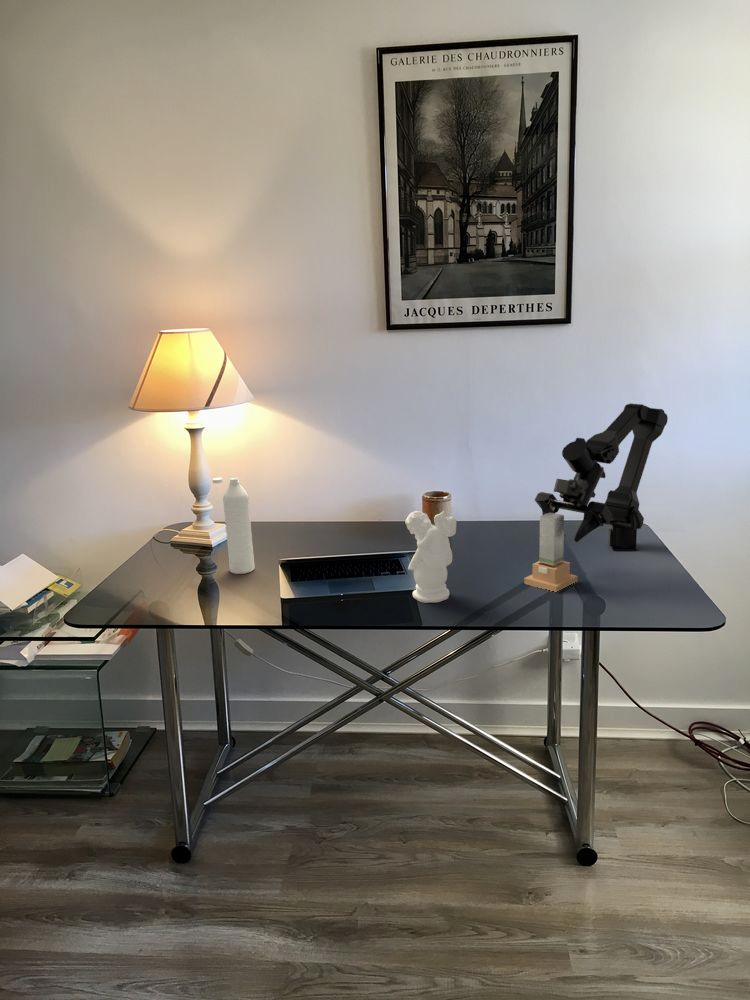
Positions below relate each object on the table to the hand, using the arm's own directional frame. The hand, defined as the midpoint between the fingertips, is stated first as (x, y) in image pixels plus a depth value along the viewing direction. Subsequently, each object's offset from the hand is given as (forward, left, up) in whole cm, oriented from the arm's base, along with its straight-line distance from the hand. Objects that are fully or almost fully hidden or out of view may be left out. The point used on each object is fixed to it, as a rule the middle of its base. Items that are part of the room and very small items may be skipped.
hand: (558, 537), depth 190 cm
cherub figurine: (+29, +9, -11) cm, 32 cm away
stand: (+2, +2, -11) cm, 11 cm away
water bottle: (+82, -8, -11) cm, 83 cm away
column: (+2, +2, -5) cm, 6 cm away
